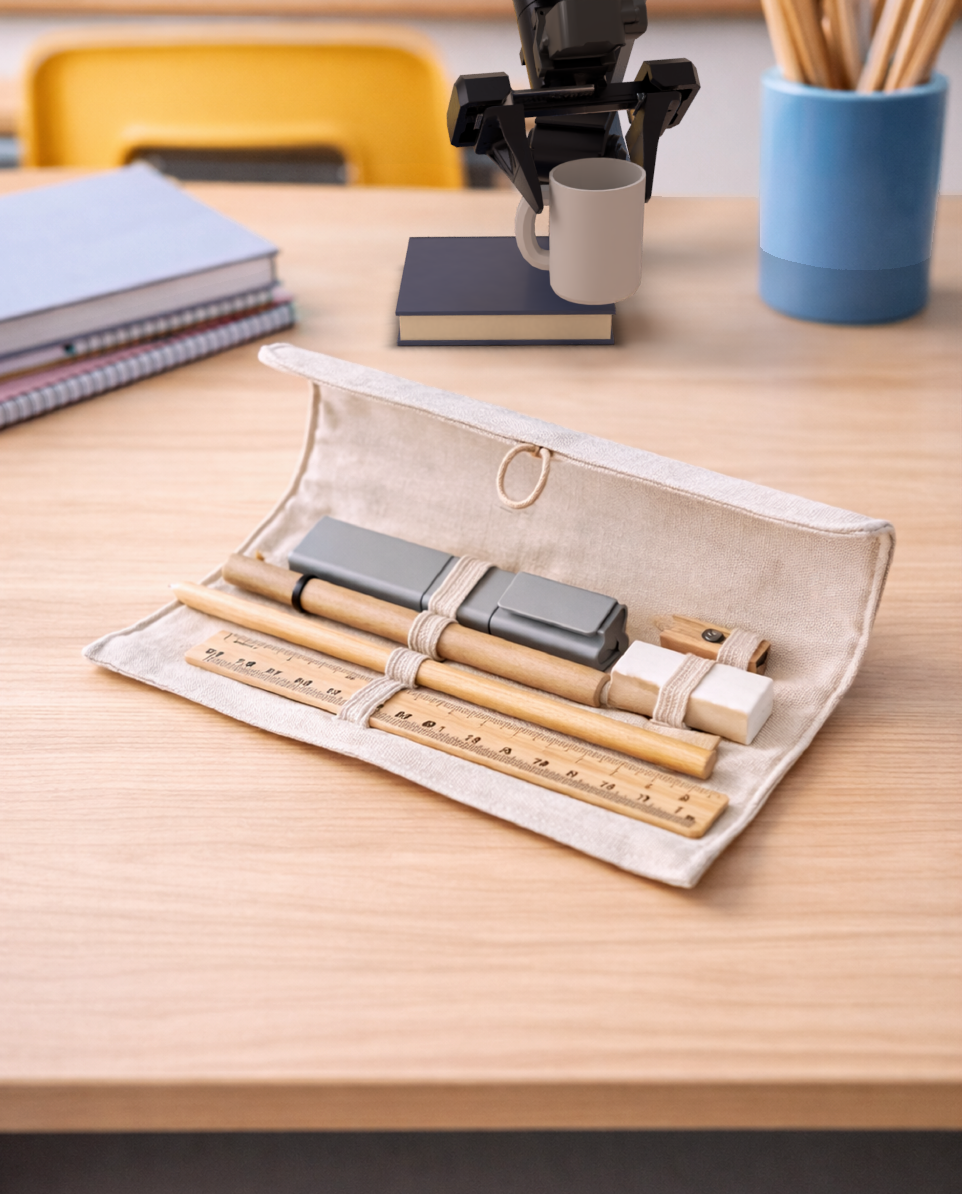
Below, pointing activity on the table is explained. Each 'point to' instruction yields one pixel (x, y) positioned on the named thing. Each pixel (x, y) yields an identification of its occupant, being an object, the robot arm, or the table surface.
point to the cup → (589, 230)
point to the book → (488, 297)
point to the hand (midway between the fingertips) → (593, 206)
